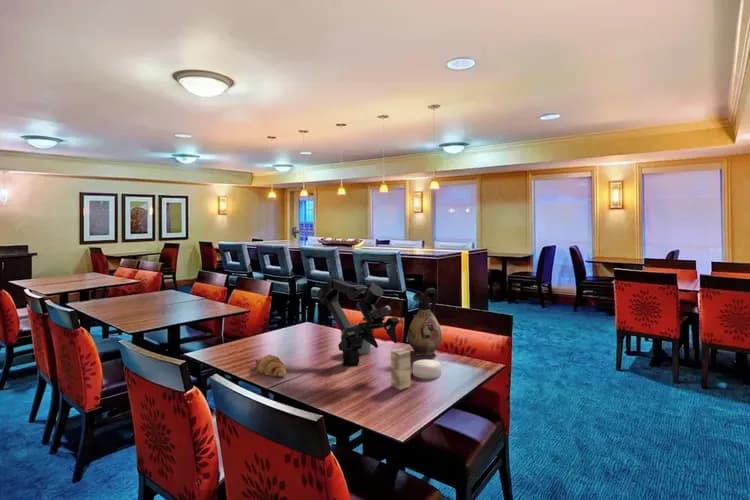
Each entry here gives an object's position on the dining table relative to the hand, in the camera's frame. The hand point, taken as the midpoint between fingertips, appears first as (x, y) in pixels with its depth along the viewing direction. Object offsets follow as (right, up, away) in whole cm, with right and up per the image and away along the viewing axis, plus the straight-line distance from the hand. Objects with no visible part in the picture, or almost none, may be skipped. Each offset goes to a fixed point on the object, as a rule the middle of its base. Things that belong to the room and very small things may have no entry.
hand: (386, 345), depth 163 cm
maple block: (+5, -14, -6) cm, 16 cm away
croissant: (-47, -14, +12) cm, 51 cm away
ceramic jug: (+19, -11, +35) cm, 41 cm away
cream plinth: (+16, -13, +7) cm, 22 cm away
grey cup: (-11, -12, +38) cm, 41 cm away
